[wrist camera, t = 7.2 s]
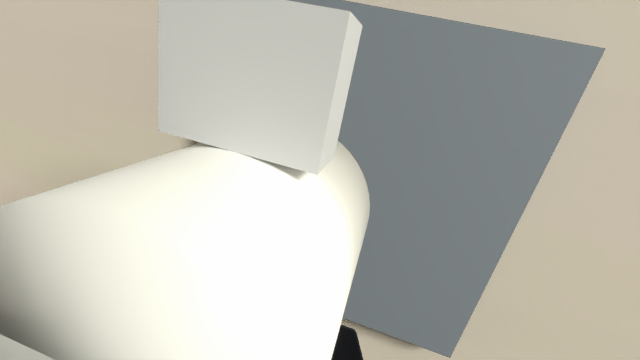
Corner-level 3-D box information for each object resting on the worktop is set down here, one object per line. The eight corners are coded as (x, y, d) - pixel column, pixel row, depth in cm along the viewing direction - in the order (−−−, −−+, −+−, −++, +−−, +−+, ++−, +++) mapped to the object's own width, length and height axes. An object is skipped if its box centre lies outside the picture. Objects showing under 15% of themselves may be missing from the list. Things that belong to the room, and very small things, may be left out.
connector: (313, 414, 10) (232, 710, 5) (203, 367, 11) (45, 592, 6) (417, 48, 6) (451, -51, 1) (229, 13, 7) (-169, -130, 2)
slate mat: (447, 340, 18) (449, 357, 17) (206, 253, 21) (195, 263, 20) (587, 51, 12) (605, 48, 11) (229, -17, 15) (214, -24, 14)
